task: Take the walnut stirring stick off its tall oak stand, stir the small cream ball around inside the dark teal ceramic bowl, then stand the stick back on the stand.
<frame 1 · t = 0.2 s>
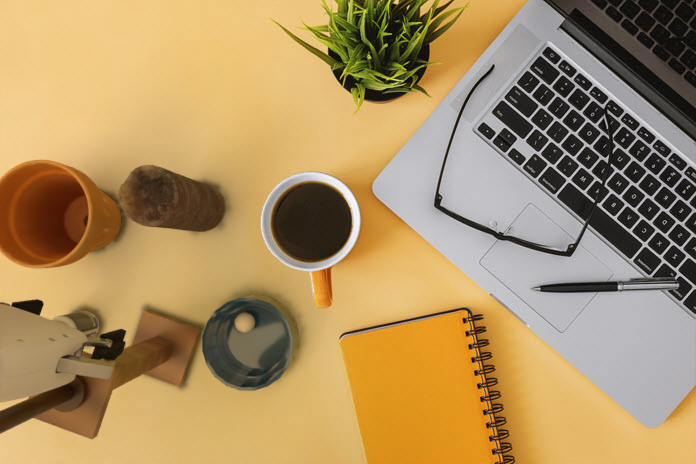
hand: (78, 328, 52), 23 cm above the table, tool pointing down, fingers open, 9 cm apart
stand: (164, 347, 74), on the table
bowl: (256, 337, 74), on the table
brown textured cylinder: (205, 209, 75), on the table
pill bottle: (85, 325, 75), on the table
stick: (69, 390, 51), point 23 cm above the table, touching stand
flower pot: (95, 220, 76), on the table
ball: (244, 322, 72), point 2 cm above the table, touching bowl
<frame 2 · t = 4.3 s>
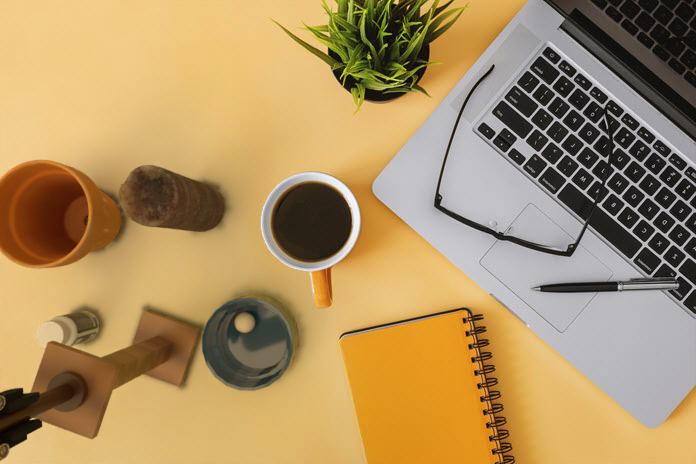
hand: (25, 410, 44), 30 cm above the table, tool pointing down, fingers closed on stick
stick: (69, 390, 51), point 24 cm above the table, touching gripper, stand
everything else where it was.
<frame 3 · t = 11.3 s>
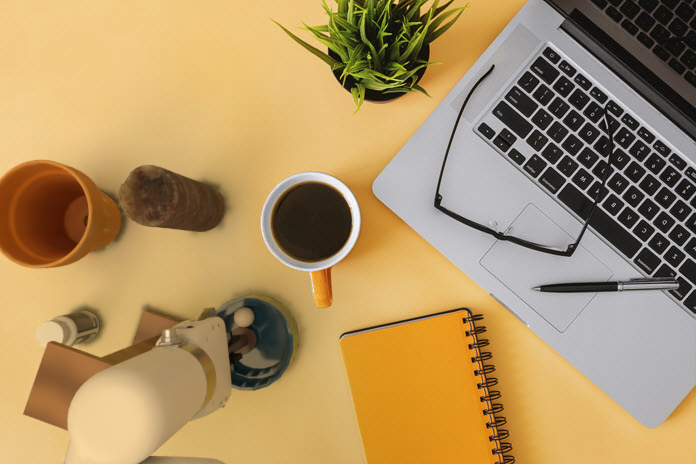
hand: (230, 347, 65), 8 cm above the table, tool pointing down, fingers closed on stick
stick: (243, 340, 72), point 2 cm above the table, touching ball, gripper
ball: (244, 316, 72), point 2 cm above the table, tilted 29°, touching bowl, stick
everything else where it was.
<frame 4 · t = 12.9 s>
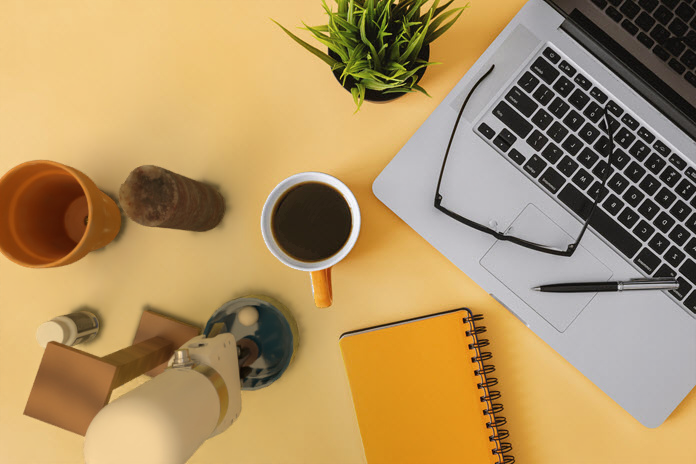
hand: (239, 360, 65), 8 cm above the table, tool pointing down, fingers closed on stick
stick: (245, 351, 72), point 2 cm above the table, tilted 6°, touching gripper
ball: (248, 315, 72), point 2 cm above the table, tilted 28°, touching bowl
everything else where it was.
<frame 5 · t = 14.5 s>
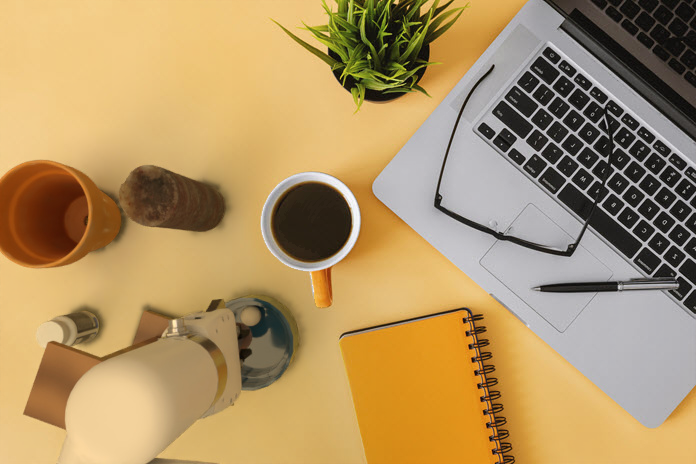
hand: (238, 342, 62), 12 cm above the table, tool pointing down, fingers closed on stick
stick: (237, 336, 68), point 6 cm above the table, tilted 13°, touching gripper
ball: (250, 315, 72), point 2 cm above the table, tilted 72°, touching bowl
everything else where it was.
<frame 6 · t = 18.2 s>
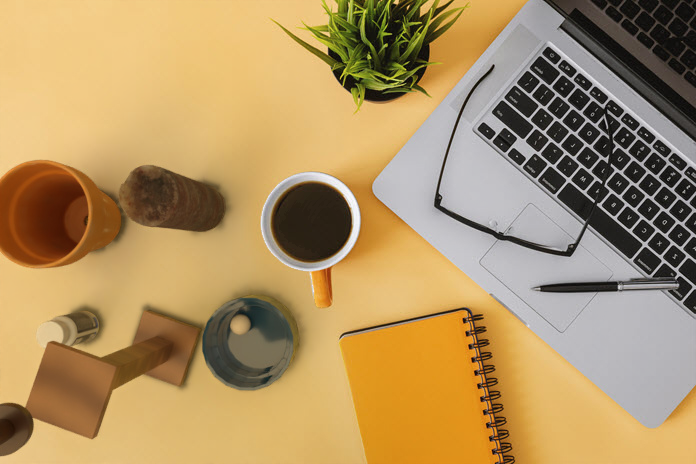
stick: (7, 427, 39), point 35 cm above the table, tilted 13°, touching gripper
ball: (240, 324, 72), point 2 cm above the table, tilted 54°, touching bowl
everything else where it was.
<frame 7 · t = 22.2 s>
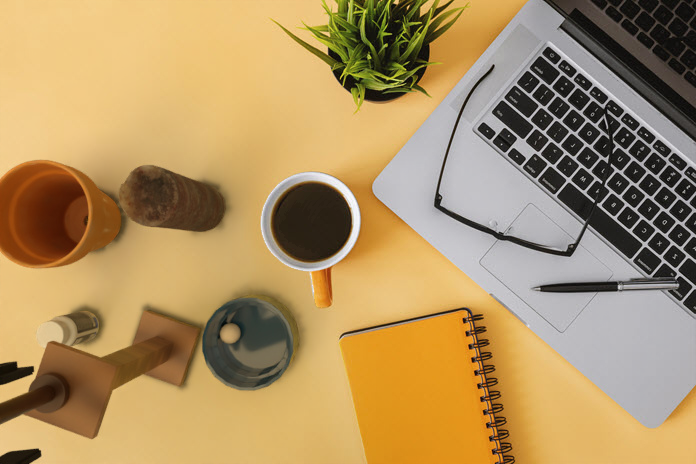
hand: (21, 412, 44), 30 cm above the table, tool pointing down, fingers open, 6 cm apart
stick: (51, 391, 51), point 24 cm above the table, touching stand
ball: (230, 333, 72), point 2 cm above the table, tilted 92°, touching bowl
everything else where it was.
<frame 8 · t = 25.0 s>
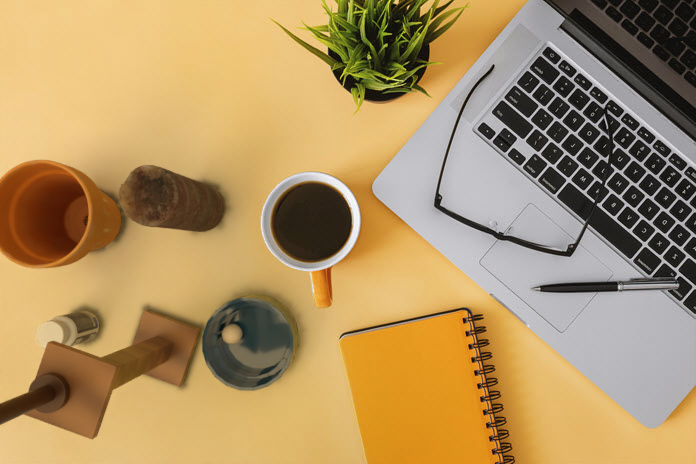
ball: (232, 333, 72), point 2 cm above the table, tilted 81°, touching bowl
everything else where it was.
at the end: ball moved 2.6 cm from its start; ball inside the target area in the bowl (3.3 cm from its centre), point 2.1 cm above the bowl's base; stick point 23.5 cm above the table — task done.
